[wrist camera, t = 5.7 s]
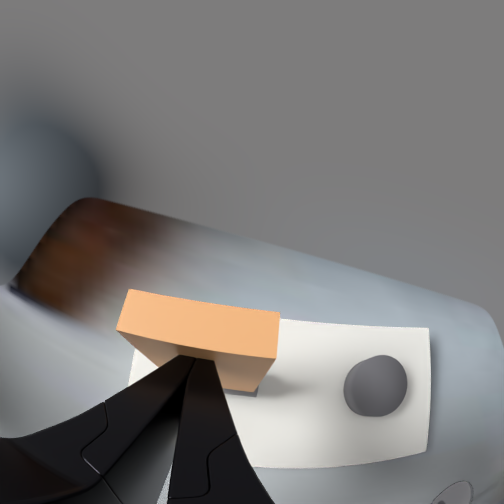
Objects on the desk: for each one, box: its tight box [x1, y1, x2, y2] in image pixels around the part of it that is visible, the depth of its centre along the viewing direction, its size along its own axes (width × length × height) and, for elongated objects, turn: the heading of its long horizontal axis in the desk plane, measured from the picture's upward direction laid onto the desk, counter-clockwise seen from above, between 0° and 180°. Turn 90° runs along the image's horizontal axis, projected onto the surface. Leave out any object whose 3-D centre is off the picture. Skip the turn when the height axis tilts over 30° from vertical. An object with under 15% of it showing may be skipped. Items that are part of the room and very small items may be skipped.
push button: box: [343, 355, 407, 417], centre depth 13 cm, size 4×4×1 cm
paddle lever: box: [116, 289, 280, 397], centre depth 10 cm, size 2×4×9 cm, turn 84°
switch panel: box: [128, 319, 431, 468], centre depth 15 cm, size 9×19×3 cm, turn 83°
